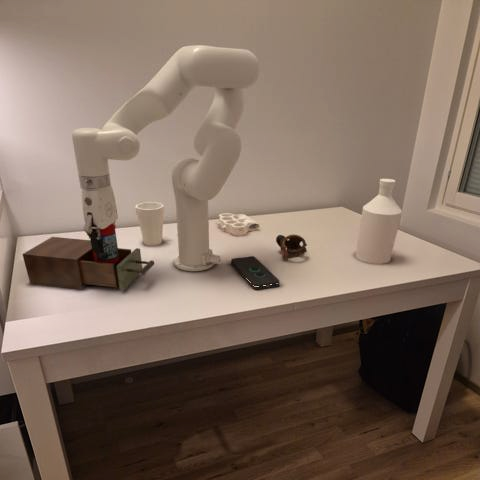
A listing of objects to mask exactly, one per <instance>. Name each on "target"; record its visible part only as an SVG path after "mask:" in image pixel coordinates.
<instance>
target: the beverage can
mask: <svg viewBox="0 0 480 480" xmlns="http://www.w3.org/2000/svg"><path fill="white" fill-rule="evenodd" d="M115 226H116V225H115ZM115 226H114V224H113V223H112V224H110V225H109V226H108V227H106V228H105V229H101V238H102V240H103V247H104V253H94V252H93V256H94V261H95V262H101V263H111V264H115V263H117V262H118V261H119V254H118V248H119V247H118V240H117V233H116V228H115ZM93 227H97V226H96V225H93ZM93 231H94V232H95V233H96V234H97V230H96V229H93Z"/></svg>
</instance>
